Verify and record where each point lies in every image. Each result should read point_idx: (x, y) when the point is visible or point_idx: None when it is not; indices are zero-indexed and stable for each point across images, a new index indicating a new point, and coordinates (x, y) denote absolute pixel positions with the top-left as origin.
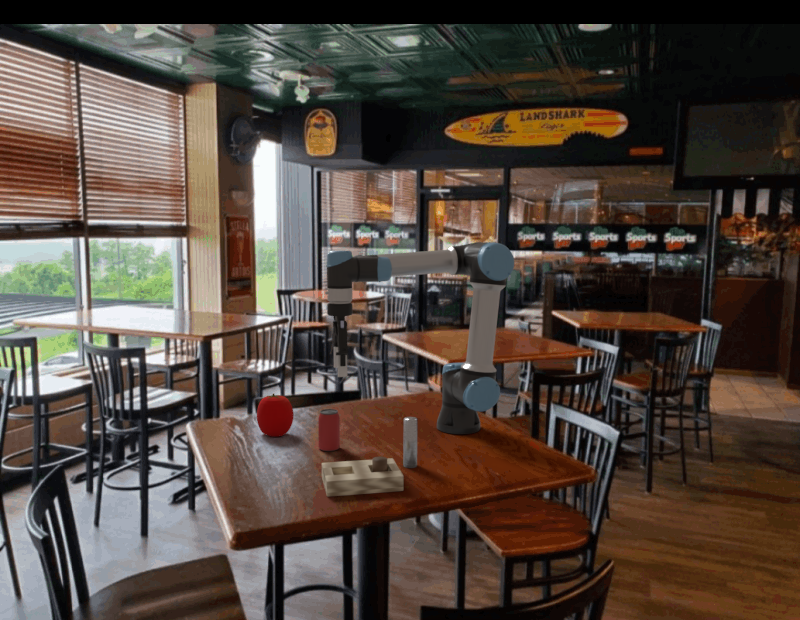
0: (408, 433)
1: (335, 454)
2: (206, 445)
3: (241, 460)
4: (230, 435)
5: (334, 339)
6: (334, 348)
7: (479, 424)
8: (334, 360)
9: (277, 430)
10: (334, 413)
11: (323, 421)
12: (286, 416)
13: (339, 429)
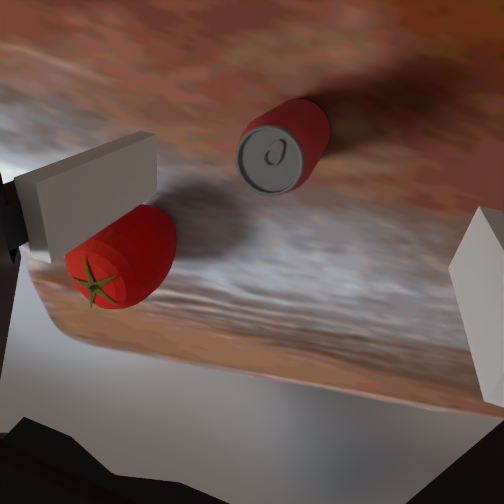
0: None
1: (358, 128)
2: (198, 356)
3: (308, 334)
4: (146, 307)
5: (6, 321)
6: (60, 252)
7: None
8: (126, 208)
9: (175, 243)
10: (302, 149)
11: (302, 183)
12: (155, 238)
13: (300, 110)
